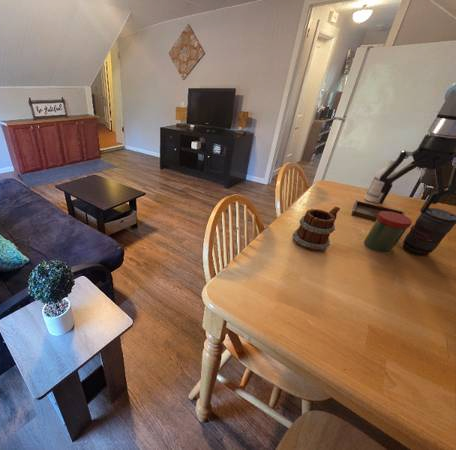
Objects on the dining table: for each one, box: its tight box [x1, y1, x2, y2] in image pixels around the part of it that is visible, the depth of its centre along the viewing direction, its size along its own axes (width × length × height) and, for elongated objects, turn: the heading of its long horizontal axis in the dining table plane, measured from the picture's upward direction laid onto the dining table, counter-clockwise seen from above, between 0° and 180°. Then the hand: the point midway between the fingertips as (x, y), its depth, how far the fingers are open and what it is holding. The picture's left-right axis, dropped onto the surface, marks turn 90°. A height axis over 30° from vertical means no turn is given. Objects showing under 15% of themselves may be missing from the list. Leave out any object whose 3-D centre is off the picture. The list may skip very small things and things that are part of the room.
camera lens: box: [401, 207, 456, 257], centre depth 82 cm, size 8×8×15 cm
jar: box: [363, 219, 408, 254], centre depth 85 cm, size 8×8×12 cm
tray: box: [351, 200, 406, 222], centre depth 106 cm, size 17×13×2 cm
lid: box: [376, 211, 413, 230], centre depth 82 cm, size 9×9×2 cm
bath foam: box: [364, 158, 397, 204], centre depth 114 cm, size 7×7×20 cm
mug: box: [292, 206, 341, 252], centre depth 86 cm, size 12×14×15 cm
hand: (400, 206), depth 79 cm, fingers open, 10 cm apart
